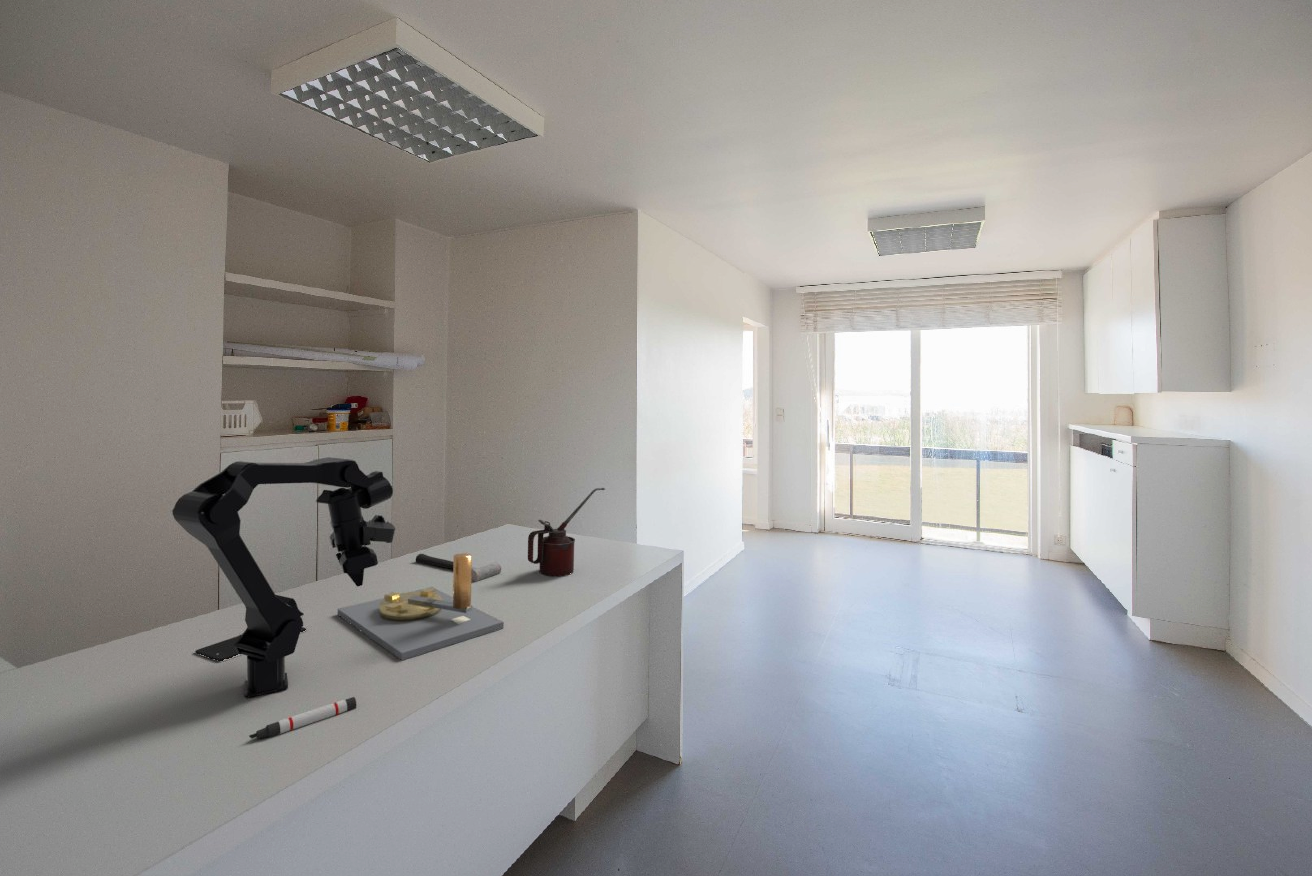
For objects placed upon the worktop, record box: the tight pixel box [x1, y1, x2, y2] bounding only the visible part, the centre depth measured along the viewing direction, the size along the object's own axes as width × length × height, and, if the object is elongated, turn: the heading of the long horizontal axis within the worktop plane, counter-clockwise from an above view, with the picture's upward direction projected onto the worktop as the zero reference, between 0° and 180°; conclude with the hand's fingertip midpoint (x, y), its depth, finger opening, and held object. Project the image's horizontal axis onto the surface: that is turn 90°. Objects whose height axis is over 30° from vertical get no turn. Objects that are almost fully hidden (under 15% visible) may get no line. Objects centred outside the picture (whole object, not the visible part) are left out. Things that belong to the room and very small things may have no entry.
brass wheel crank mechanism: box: [379, 552, 473, 621], centre depth 139 cm, size 24×14×15 cm, turn 72°
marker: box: [248, 696, 357, 740], centre depth 95 cm, size 15×2×2 cm, turn 137°
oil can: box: [527, 487, 606, 577], centre depth 184 cm, size 28×11×25 cm, turn 134°
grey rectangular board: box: [337, 586, 505, 661], centre depth 139 cm, size 34×24×2 cm
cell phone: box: [195, 626, 307, 662], centre depth 125 cm, size 9×18×1 cm, turn 156°
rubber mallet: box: [415, 553, 502, 582], centre depth 180 cm, size 10×4×30 cm
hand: (359, 585), depth 124 cm, fingers closed
